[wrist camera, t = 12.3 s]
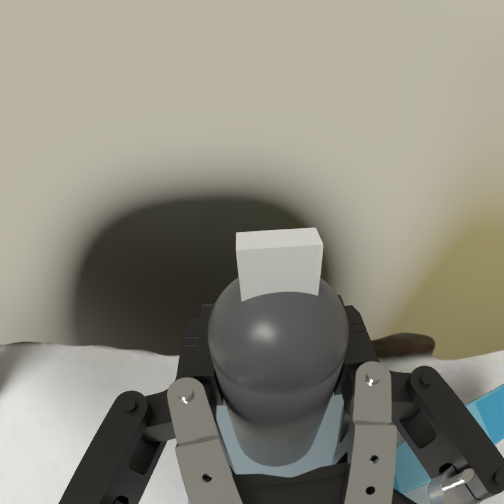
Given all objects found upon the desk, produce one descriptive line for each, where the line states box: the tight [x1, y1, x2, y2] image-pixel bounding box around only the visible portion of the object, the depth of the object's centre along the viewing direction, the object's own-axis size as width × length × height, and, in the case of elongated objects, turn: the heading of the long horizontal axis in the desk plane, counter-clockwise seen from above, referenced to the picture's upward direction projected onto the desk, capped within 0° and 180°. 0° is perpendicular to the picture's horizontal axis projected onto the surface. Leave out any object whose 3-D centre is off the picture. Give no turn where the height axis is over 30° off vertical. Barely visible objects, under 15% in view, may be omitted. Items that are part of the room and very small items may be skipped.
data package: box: [393, 384, 504, 494], centre depth 16 cm, size 12×4×12 cm, turn 94°
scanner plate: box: [188, 394, 344, 504], centre depth 21 cm, size 16×16×2 cm
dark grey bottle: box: [208, 228, 349, 467], centre depth 10 cm, size 4×4×12 cm
